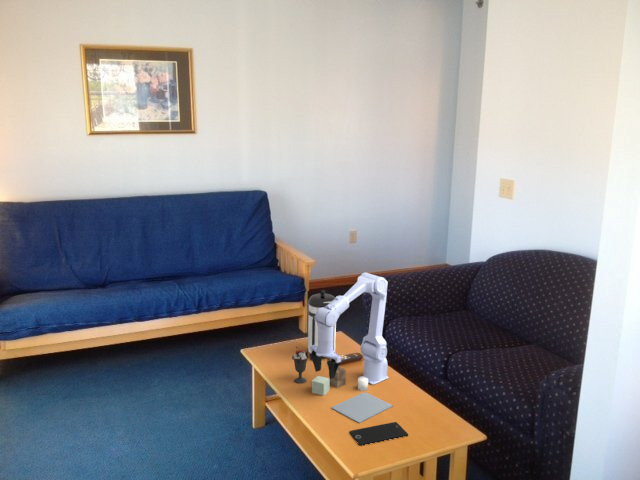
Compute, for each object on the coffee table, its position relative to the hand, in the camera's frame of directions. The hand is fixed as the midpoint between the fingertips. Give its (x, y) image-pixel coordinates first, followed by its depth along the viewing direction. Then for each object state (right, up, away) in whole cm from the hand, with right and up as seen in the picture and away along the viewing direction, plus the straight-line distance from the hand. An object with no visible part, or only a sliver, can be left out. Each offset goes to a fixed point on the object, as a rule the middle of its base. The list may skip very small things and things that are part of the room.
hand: (325, 374), depth 219 cm
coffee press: (-2, -1, +42) cm, 42 cm away
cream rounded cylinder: (+15, -8, +11) cm, 20 cm away
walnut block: (+5, -7, +14) cm, 16 cm away
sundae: (-10, -6, +16) cm, 20 cm away
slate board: (+14, -11, -4) cm, 18 cm away
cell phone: (+18, -16, -21) cm, 32 cm away
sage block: (-2, -8, +8) cm, 12 cm away
